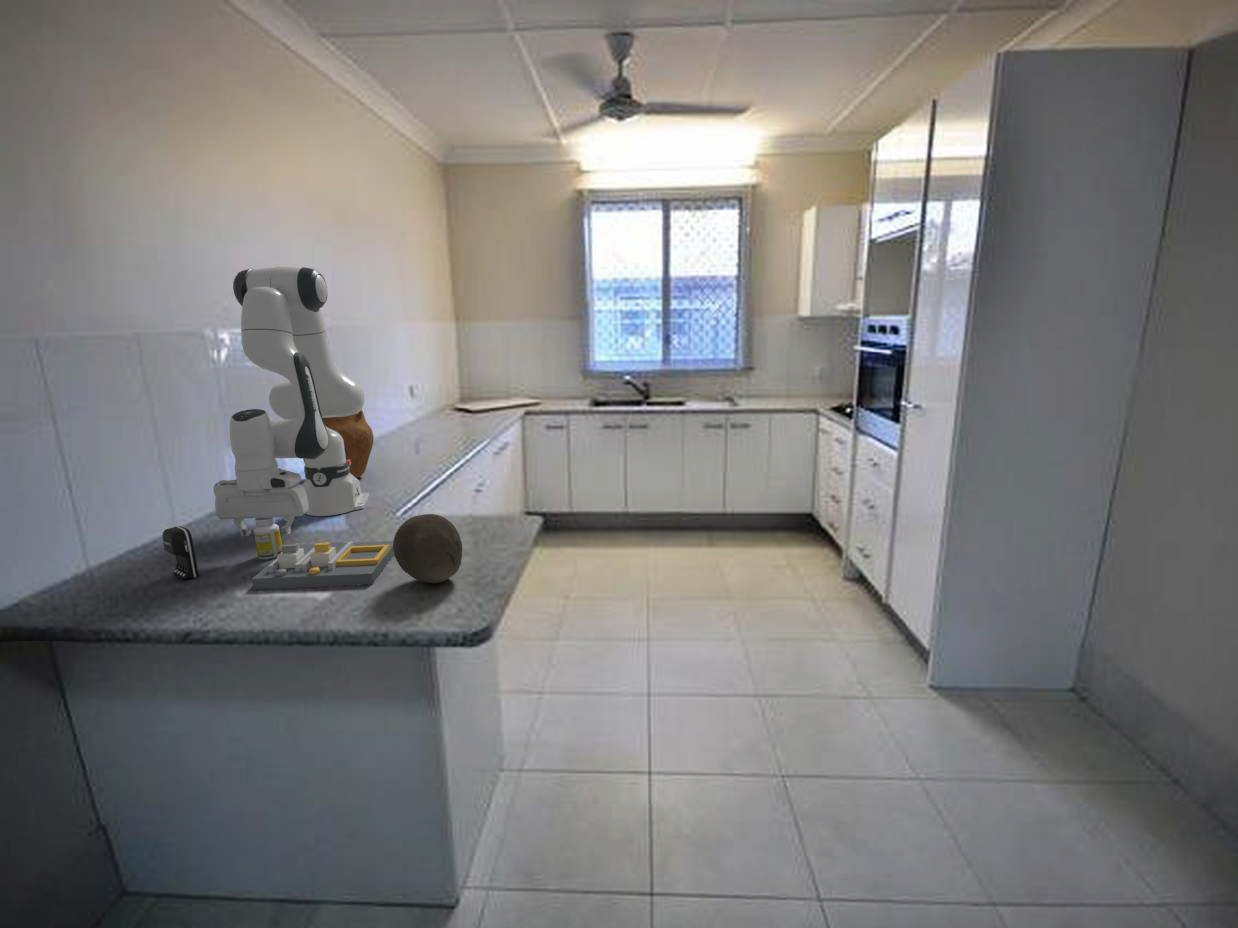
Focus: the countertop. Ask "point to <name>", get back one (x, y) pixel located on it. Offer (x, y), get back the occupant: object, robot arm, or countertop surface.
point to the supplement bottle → (267, 538)
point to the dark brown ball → (428, 548)
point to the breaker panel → (330, 567)
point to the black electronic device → (181, 551)
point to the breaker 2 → (322, 554)
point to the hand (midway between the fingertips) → (266, 534)
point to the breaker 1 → (290, 555)
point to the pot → (353, 439)
